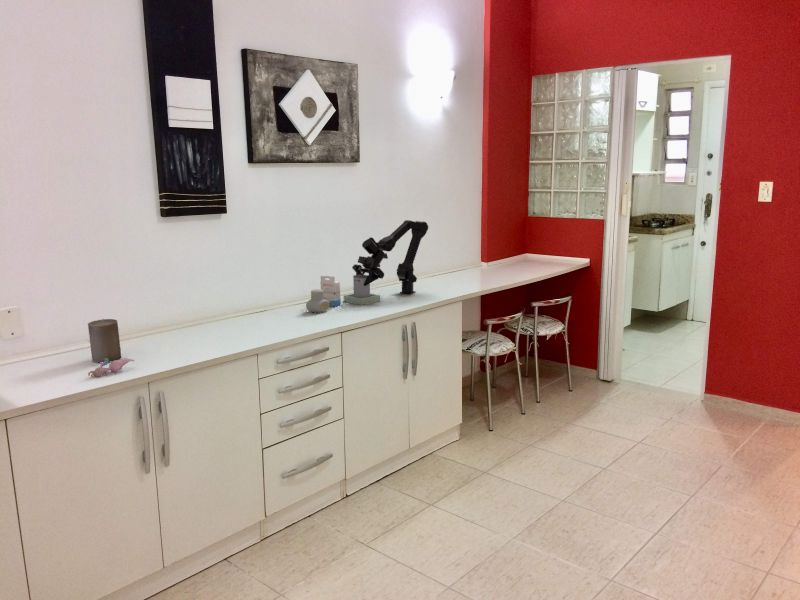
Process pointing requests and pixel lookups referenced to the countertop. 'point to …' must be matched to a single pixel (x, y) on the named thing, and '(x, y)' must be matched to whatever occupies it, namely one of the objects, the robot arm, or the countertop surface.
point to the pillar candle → (104, 340)
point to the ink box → (331, 290)
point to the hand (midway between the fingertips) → (359, 284)
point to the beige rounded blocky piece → (317, 302)
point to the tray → (361, 299)
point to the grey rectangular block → (361, 286)
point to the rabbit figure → (113, 367)
